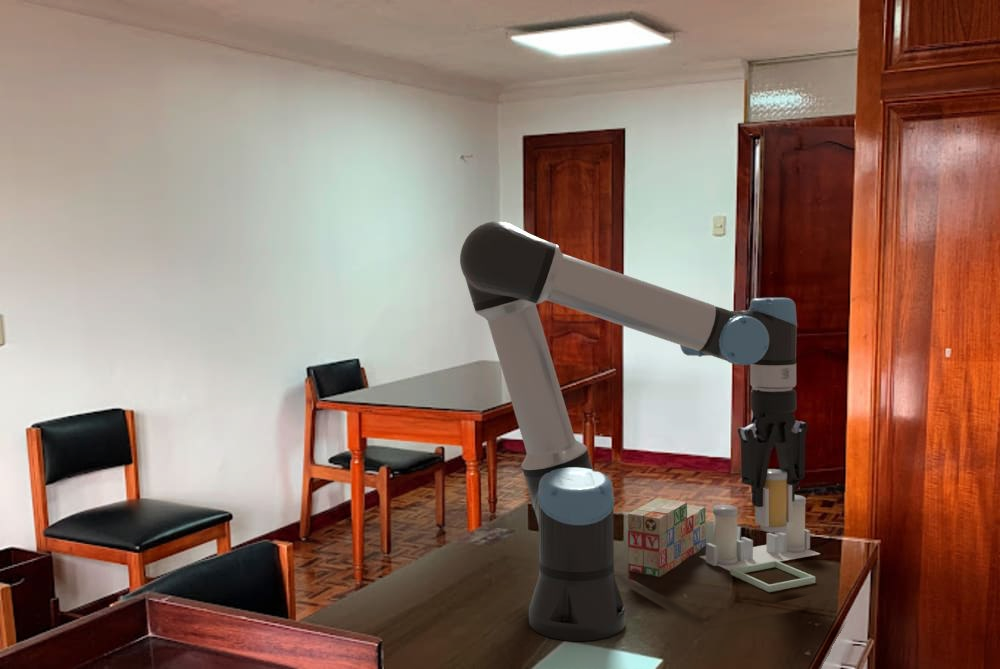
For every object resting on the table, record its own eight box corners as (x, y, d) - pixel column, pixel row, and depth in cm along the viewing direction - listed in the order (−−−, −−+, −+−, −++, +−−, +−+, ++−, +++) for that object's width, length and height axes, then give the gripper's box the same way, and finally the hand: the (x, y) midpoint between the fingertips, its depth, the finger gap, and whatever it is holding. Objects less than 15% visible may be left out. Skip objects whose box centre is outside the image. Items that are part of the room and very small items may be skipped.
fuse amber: (755, 527, 159) (755, 470, 158) (775, 524, 161) (775, 468, 160) (772, 534, 155) (772, 475, 154) (792, 530, 157) (792, 473, 156)
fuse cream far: (792, 554, 172) (792, 501, 171) (776, 547, 176) (776, 496, 175) (810, 550, 173) (810, 498, 173) (794, 544, 177) (794, 493, 177)
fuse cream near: (723, 566, 165) (723, 511, 164) (707, 559, 169) (708, 506, 168) (742, 563, 167) (742, 509, 166) (726, 556, 171) (727, 503, 170)
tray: (768, 600, 152) (768, 586, 152) (730, 582, 161) (730, 568, 161) (815, 591, 156) (815, 576, 156) (775, 573, 165) (775, 560, 165)
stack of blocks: (676, 548, 181) (676, 487, 180) (706, 553, 178) (706, 491, 177) (627, 579, 164) (627, 512, 163) (660, 586, 160) (659, 517, 159)
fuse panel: (725, 579, 163) (725, 552, 162) (694, 565, 171) (694, 538, 170) (822, 561, 172) (822, 535, 171) (789, 548, 180) (789, 523, 180)
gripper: (746, 394, 149) (747, 535, 151) (828, 386, 156) (828, 521, 158) (718, 389, 156) (718, 524, 158) (797, 382, 163) (797, 511, 165)
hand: (773, 522), depth 158 cm, fingers closed on fuse amber, 4 cm apart
